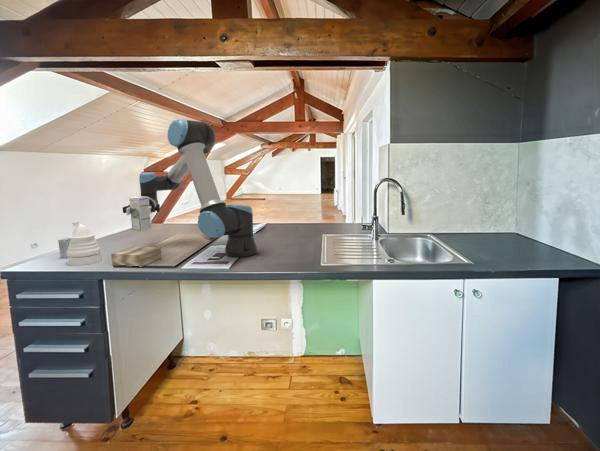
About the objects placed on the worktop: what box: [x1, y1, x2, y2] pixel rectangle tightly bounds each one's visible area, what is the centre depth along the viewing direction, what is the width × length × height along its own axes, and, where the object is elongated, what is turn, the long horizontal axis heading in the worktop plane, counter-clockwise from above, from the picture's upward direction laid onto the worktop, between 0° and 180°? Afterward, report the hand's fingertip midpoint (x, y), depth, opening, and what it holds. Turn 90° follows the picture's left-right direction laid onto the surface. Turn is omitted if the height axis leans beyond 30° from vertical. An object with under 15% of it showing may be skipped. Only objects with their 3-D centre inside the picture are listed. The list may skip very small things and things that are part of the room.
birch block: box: [110, 246, 162, 268], centre depth 156 cm, size 14×14×5 cm
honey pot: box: [66, 221, 103, 266], centre depth 157 cm, size 13×13×18 cm
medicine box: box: [57, 237, 70, 259], centre depth 168 cm, size 8×4×9 cm, turn 168°
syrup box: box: [129, 195, 152, 232], centre depth 154 cm, size 6×6×14 cm
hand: (138, 211), depth 150 cm, fingers closed on syrup box, 8 cm apart
